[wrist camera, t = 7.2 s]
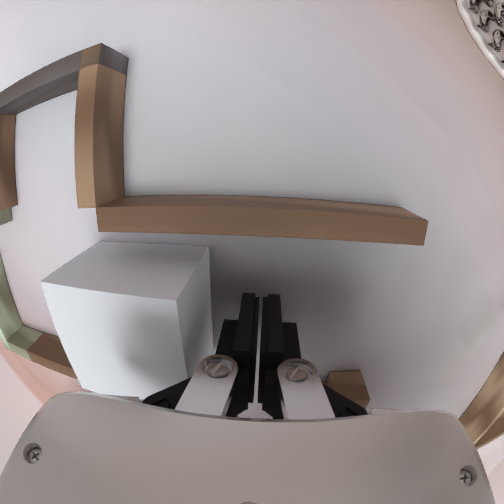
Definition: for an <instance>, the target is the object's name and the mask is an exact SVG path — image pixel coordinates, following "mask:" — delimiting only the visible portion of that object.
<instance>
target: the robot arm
mask: <svg viewBox="0 0 504 504" xmlns="http://www.w3.org/2000/svg"><path fill="white" fill-rule="evenodd" d="M258 316H259V297H256V296H255V293H243V296H242V302H241V308H240V314H239V320H229V319H224V321H223V325H222V329H221V333H220V337H219V341H218V345H217V350H216V354H215V355H211V356H208V357H206V358H204V359H203V360H202V361H201V362H200V363H199V365H198V367H197V369H196V371H195V372H194V374H193V376H192V377H190V378H188V379H186V380H184V381H181V382H179V383H177V384H175V385H173V386H170V387H168V388H166V389H163V390H161V391H159V392H157V393H154V394H152V395H150V396H148V397H146V398H145V399H140V398H139V397H135V396H117V395H105V394H97V393H90V392H65V393H60V394H57V395H55V396H53V397H52V398H50V399H49V400H48V401H47V402H46V403H45V404H44V405H43V406H42V407H41V408H40V410H39V411H38V412H37V413H36V415H35V416H34V417H33V419H32V420H31V422H30V423H29V425H28V426H27V428H26V429H25V431H24V432H23V434H22V436H21V438H20V439H19V441H18V443H17V444H16V446H15V448H14V450H13V452H12V454H11V456H10V458H9V460H8V461H7V464H6V466H5V467H4V469H3V472H2V474H1V476H0V504H495V501H494V497H493V493H492V490H491V487H490V484H489V481H488V478H487V475H486V472H485V469H484V466H483V464H482V461H481V458H480V456H479V454H478V452H477V449H476V447H475V445H474V443H473V441H472V439H471V437H470V435H469V434H468V432H467V430H466V429H465V427H464V426H463V424H462V423H461V422H460V421H459V420H458V419H457V418H456V417H455V416H454V415H452V414H450V413H448V412H444V411H440V410H431V409H411V410H395V409H373V408H371V410H370V411H366V410H365V409H364V408H363V407H362V406H360V405H358V404H357V403H355V402H353V401H351V400H350V399H348V398H346V397H344V396H343V395H341V394H339V393H338V392H336V391H334V390H333V389H331V388H329V387H328V386H326V385H324V384H323V383H322V382H321V380H320V377H319V375H318V372H317V370H316V368H315V366H314V365H313V364H312V363H310V362H309V361H306V360H304V359H301V353H300V346H299V339H298V332H297V325H296V323H291V322H282V315H281V301H280V294H268V297H263V310H262V326H261V342H260V363H259V383H258V403H263V404H262V410H264V411H265V412H267V413H268V414H269V415H270V416H271V419H254V418H238V414H240V413H241V412H243V411H245V410H248V403H253V399H254V384H255V369H256V353H257V335H258Z"/></svg>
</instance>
